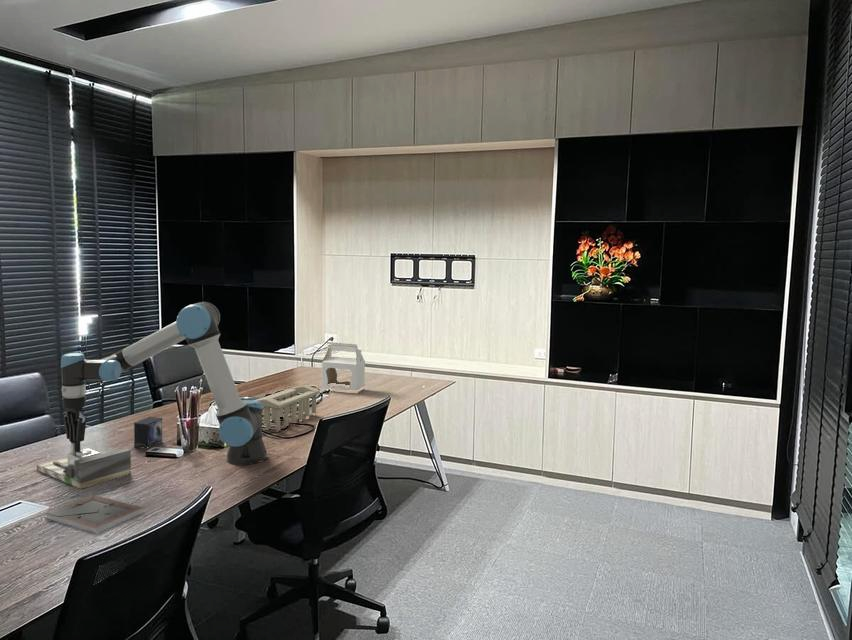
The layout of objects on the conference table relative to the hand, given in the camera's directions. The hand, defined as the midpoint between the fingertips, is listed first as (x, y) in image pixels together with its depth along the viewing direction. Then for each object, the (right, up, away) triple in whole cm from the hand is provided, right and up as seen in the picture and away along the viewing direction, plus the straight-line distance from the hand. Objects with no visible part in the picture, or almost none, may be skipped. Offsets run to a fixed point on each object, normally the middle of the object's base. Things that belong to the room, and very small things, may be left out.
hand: (76, 458), depth 232 cm
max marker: (+5, -3, -12) cm, 14 cm away
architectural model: (+62, +2, +71) cm, 94 cm away
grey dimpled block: (+3, -2, -5) cm, 7 cm away
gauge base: (+4, -4, -3) cm, 6 cm away
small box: (+13, -1, +31) cm, 34 cm away
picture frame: (+27, -10, -38) cm, 48 cm away
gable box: (+80, +9, +141) cm, 162 cm away
